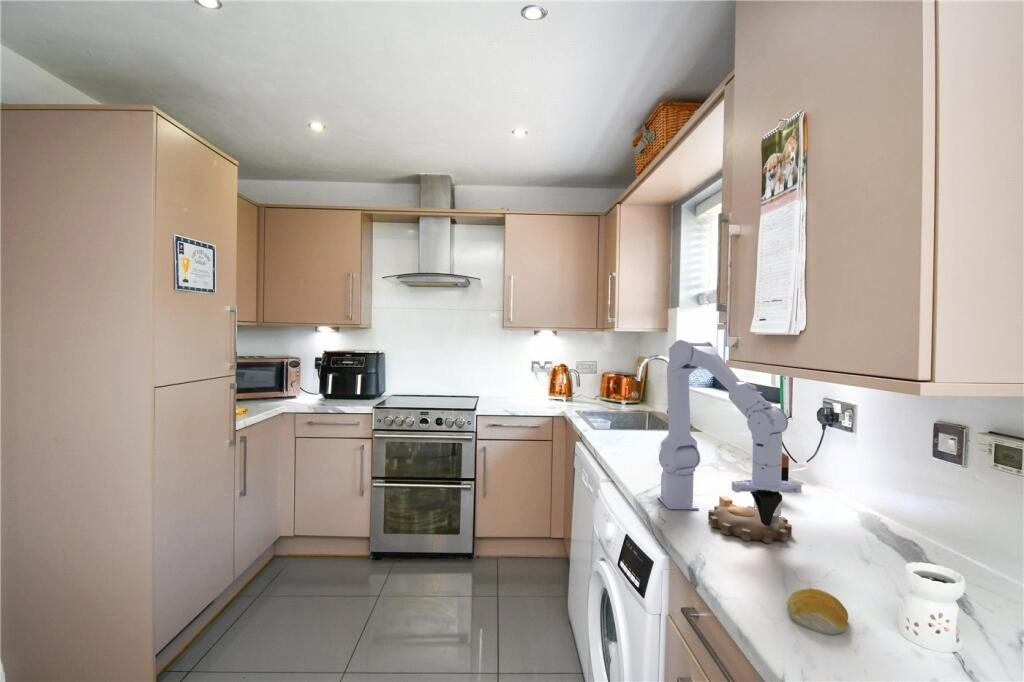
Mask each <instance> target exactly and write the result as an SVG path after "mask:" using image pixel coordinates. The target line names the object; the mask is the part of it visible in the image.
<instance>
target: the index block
mask: <svg viewBox="0 0 1024 682" xmlns="http://www.w3.org/2000/svg"><path fill="white" fill-rule="evenodd" d="M718 498H719V499H718V505H719V506H721V507H727V506H728V505H733V499H731V498H730V497H729V496H725V495H724V496H721V495H720V496H719V497H718Z"/></svg>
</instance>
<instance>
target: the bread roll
mask: <svg viewBox="0 0 1024 682" xmlns="http://www.w3.org/2000/svg"><path fill="white" fill-rule="evenodd" d="M786 610H787V612H788V614H789V616H790V617H791V619H792V620H793V621H795V622H796V623H797V624H798V625H800V626H801V627H804V628H806V629H810V630H812V631H815V632H817V633H821V634H825V635H831V636H833V635H839V634H843V633H844V632H845V631H846V630H847V628H848V627H849V622H848V621H849V614H848V613H849V612H848V611H847V609H846V607H845V606H844V604H843V603H842V602H841V601H840V600H839V599H838V598H836V597H835V596H834V595H832V594H830V593H829V592H825V591H823V590H820V589H815V588H804V589H800V590H797V591H795V592H793V593H792V594H791V595H790V596H789V597H788V598H787V601H786Z"/></svg>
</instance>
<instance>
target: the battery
mask: <svg viewBox="0 0 1024 682" xmlns="http://www.w3.org/2000/svg"><path fill="white" fill-rule="evenodd" d="M789 461H790V457H789V455H787V454H786V453H784V452H783V451H782V471H781V481H789V469H790V468H789V467H790V466H789V464H790V462H789Z"/></svg>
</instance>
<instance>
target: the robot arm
mask: <svg viewBox="0 0 1024 682" xmlns="http://www.w3.org/2000/svg"><path fill="white" fill-rule="evenodd" d="M668 353H669V354H668V356H669V357H668V358H669V359H668V364H667V365H666V366H667V367H666V386H667V391H666V392H667V417H668V418H667V420H668V422H667V425H668V426H667V427H668V434H667V435H666V436H665V437H664V438H663V440H662V441H661V442H660V450H659V452H658V461H659V465H660V467H661V468H662V472H661V475H660V495H659V494H658V495H657V499H659V500H660V501H661V503H662V504H664V505H665V507H666V508H667V509H668V510H700V507H699V506H698V505H697V504H696V503H695V502H694V472H696V467H698V466H699V465H700V463H701V455H700V452H699V449H698V441H697V440H696V438H694V436H692V435H691V411H690V410H691V409H690V408H691V406H690V405H691V404H690V378H689V377H690V375H692V373H693V372H694V371H695V370H697V369H698V368H701V369H706V370H707V371H708V373H710V374H711V375H712V376H713V377H714V378H715V379H716V380H717V381H719V383H721V384H722V386H723V387H725V388H726V389H727V390H728V399H729V400H730V401H731V402H732V403H733V405H734V406H735V408H737V409H738V410H739V411H740V413H741V414H742V415H743V416H744V417H745V418H746V424H747V427H748V430H749V431H750V433H751V440H752V457H751V458H752V461H751V463H752V466H751V467H752V469H751V470H752V471H751V479H742V480H732V481H731V490H732V491H733V492H735V493H741V492H745V493H746V492H750V494H751V496H752V498H753V501H754V500H755V502H756V505H757V507H758V510H759V514H760V518H761V523H763V524H764V525H765V526H770V523H771V520H772V517H773V514H774V512H775V510H776V508H777V506H778V505H779V503H780V502H781V503H782V501H783V495H782V493H796V494H802V484H801V483H800V482H798V481H789V480H788V481H781V471H782V452H783V433H784V432H786V430H787V429H788V426H789V419H788V416H787V415H786V413H785V412H784V410H783V409H782V408H779V407H776V406H773V405H772V403H771V402H770V401H767V400H766V399H765V397H763V396H762V395H761V394H760V393H759V392H758V390H757V389H758V387H757V386H756V385H755V384H751V383H750V382H745V381H743V382H742V381H741V380H740V379H739V377H738V376H737V375H736V374H735V373H734V371H733V370H732V369H731V368H730V366H729V365H728V364H727V363H726V361H725V360H724V359H723V358H722V357H721V355H720V354H719V350H718V348H717V347H715V346H714V345H713V344H712V342H710V341H709V340H707V339H699V340H695V339H694V340H691V339H690V340H688V339H678V340H677V341H675V342H674V343H673V344H672V345H671V346H670V347H669V348H668ZM779 492H780V493H781V494H779Z"/></svg>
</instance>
